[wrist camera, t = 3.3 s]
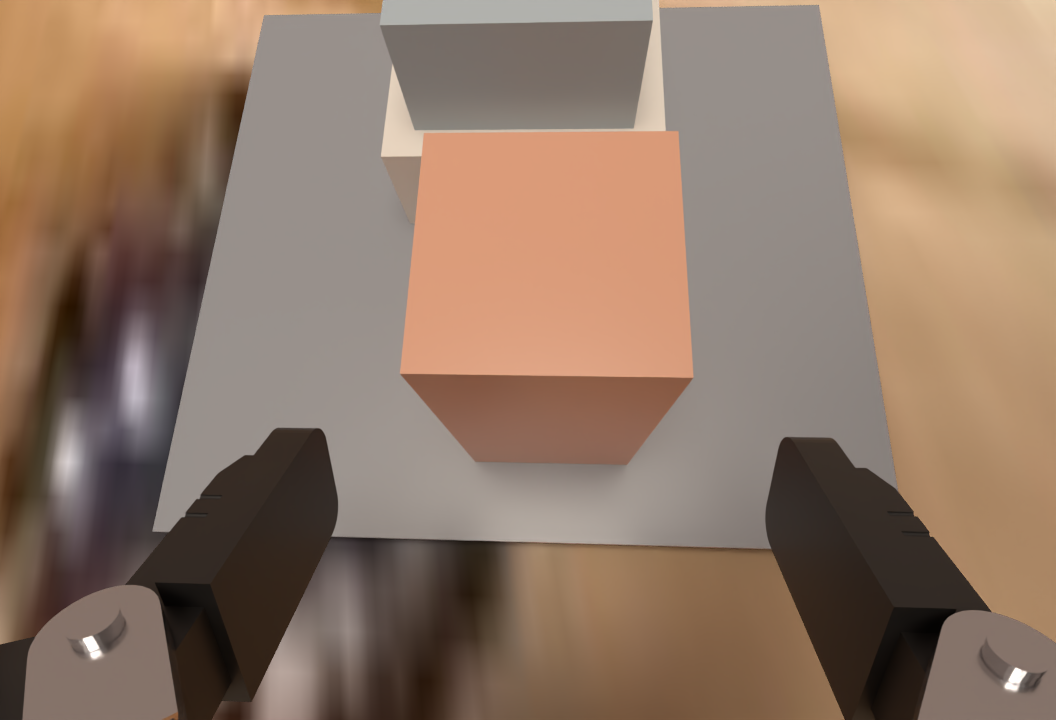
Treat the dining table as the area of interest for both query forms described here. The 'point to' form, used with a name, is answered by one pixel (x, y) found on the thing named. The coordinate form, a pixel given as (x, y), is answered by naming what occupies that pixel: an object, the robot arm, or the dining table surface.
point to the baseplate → (383, 280)
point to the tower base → (516, 72)
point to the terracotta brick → (549, 292)
